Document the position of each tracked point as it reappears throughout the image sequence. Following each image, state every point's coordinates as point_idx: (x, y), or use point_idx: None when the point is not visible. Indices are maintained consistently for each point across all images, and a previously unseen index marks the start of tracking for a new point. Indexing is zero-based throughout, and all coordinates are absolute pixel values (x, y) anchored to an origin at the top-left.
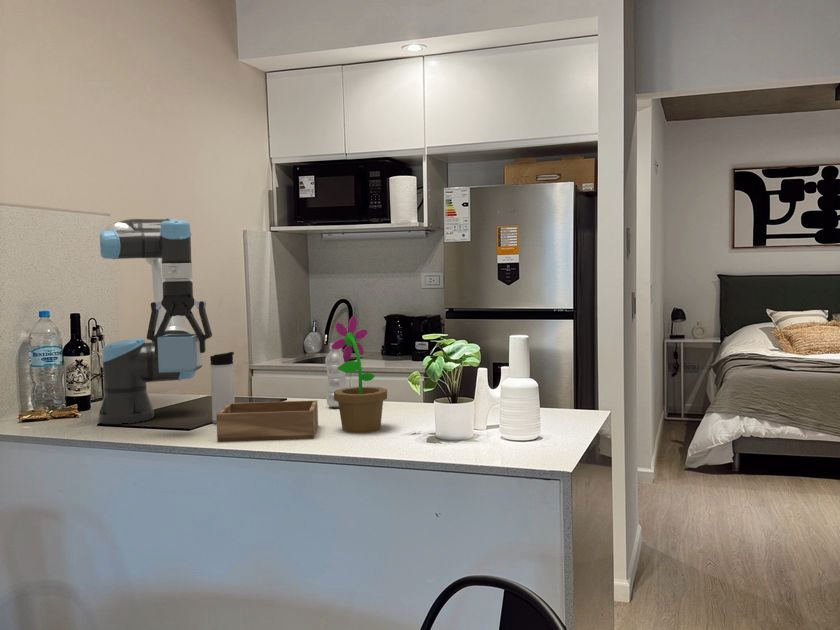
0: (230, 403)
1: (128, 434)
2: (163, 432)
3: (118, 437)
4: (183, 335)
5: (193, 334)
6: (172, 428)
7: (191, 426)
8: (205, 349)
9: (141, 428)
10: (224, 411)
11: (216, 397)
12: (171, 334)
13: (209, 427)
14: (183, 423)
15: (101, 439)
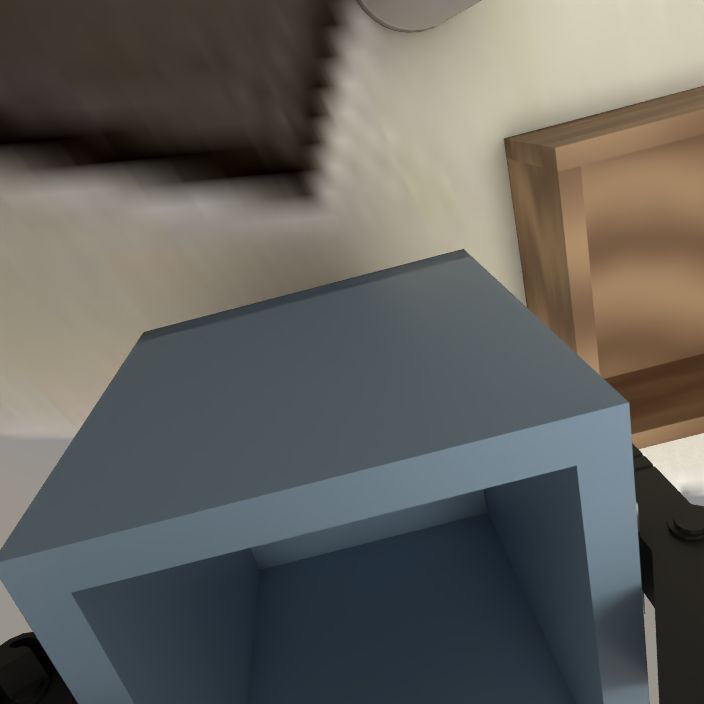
0: (572, 159)
1: (57, 315)
2: (204, 256)
3: (57, 375)
4: (326, 514)
5: (507, 480)
6: (192, 159)
7: (269, 96)
8: (635, 448)
9: (16, 175)
10: (596, 365)
11: (427, 9)
12: (100, 567)
13: (384, 114)
14: (173, 10)
15: (9, 418)
